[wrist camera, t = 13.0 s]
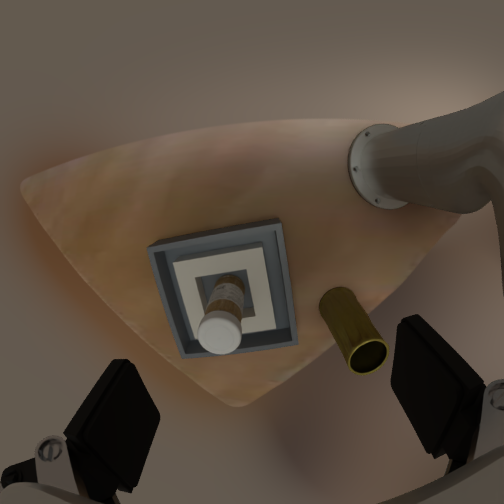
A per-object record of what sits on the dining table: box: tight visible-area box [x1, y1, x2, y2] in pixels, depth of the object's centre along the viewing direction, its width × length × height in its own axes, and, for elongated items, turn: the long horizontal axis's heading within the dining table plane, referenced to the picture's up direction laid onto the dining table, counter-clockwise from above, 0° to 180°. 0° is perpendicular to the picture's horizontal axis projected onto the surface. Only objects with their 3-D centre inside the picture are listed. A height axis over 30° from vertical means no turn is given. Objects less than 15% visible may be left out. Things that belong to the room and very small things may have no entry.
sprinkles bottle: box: [197, 275, 245, 354], centre depth 33 cm, size 5×5×14 cm
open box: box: [147, 218, 298, 359], centre depth 38 cm, size 18×18×4 cm
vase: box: [319, 287, 389, 375], centre depth 34 cm, size 6×6×14 cm
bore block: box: [173, 242, 276, 339], centre depth 38 cm, size 12×12×3 cm
